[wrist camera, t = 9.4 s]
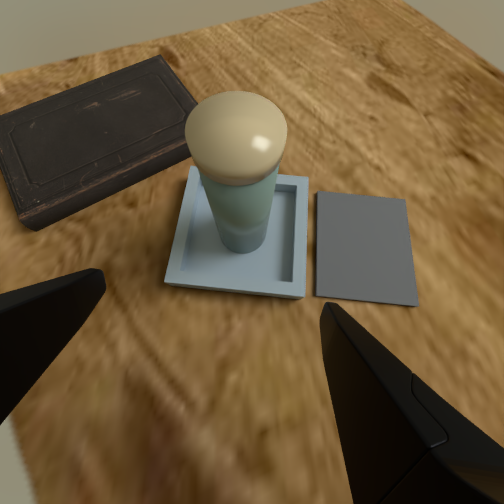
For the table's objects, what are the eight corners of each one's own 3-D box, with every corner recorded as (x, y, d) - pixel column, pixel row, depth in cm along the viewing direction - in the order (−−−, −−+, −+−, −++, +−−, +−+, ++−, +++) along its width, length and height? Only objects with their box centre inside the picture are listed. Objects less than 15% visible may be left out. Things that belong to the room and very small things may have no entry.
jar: (274, 245, 24) (303, 154, 11) (226, 261, 23) (199, 183, 10) (257, 203, 25) (266, 82, 13) (212, 217, 25) (174, 103, 12)
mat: (416, 306, 22) (419, 306, 22) (315, 296, 23) (316, 295, 22) (402, 201, 26) (405, 199, 26) (316, 192, 26) (317, 190, 26)
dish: (300, 299, 23) (305, 296, 21) (171, 285, 23) (164, 281, 21) (304, 187, 27) (308, 177, 25) (194, 177, 27) (190, 165, 25)
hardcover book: (3, 137, 29) (-17, 121, 27) (166, 71, 33) (160, 53, 31) (40, 234, 25) (20, 225, 23) (221, 145, 29) (219, 131, 27)
